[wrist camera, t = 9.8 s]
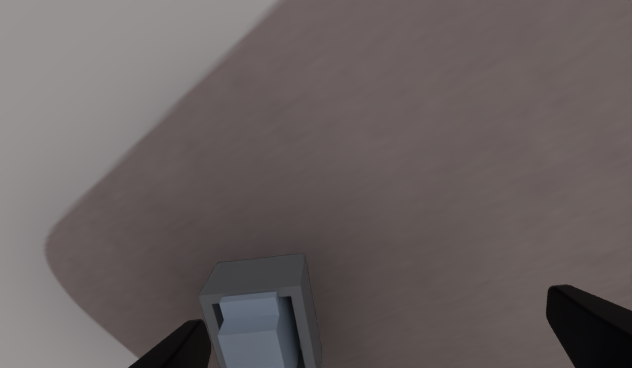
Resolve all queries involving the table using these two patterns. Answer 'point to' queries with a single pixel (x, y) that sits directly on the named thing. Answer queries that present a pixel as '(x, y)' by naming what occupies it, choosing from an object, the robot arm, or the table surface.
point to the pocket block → (259, 278)
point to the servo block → (259, 331)
